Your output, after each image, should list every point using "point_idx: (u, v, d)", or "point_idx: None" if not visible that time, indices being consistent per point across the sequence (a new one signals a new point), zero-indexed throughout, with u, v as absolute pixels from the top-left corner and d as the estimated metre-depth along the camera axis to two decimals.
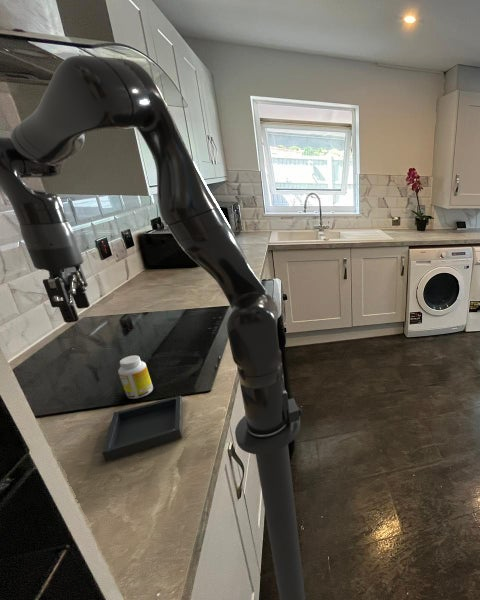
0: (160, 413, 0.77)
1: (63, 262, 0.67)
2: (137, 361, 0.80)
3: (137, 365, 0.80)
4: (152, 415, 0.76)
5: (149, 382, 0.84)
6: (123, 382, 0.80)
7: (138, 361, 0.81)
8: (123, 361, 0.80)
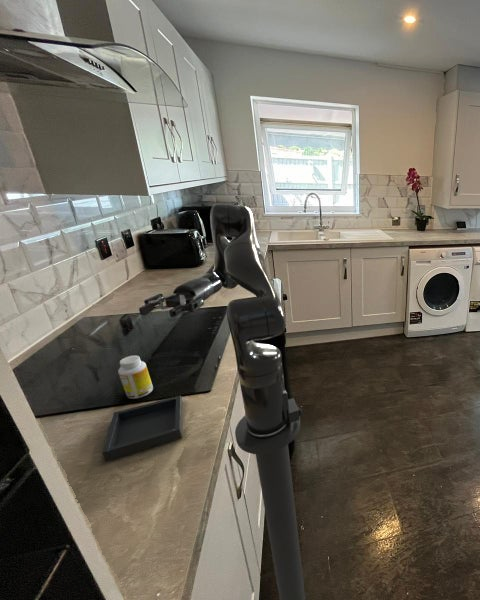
0: (160, 413, 0.77)
1: None
2: (137, 361, 0.80)
3: (137, 365, 0.80)
4: (152, 415, 0.76)
5: (149, 382, 0.84)
6: (123, 382, 0.80)
7: (138, 361, 0.81)
8: (123, 361, 0.80)
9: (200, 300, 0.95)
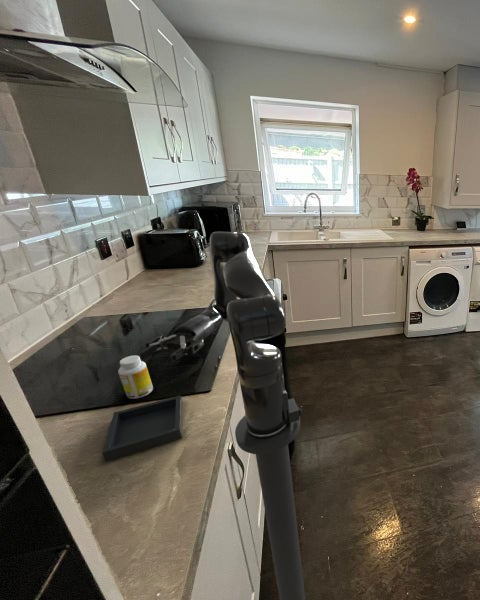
0: (160, 413, 0.77)
1: None
2: (137, 361, 0.80)
3: (137, 365, 0.80)
4: (152, 415, 0.76)
5: (149, 382, 0.84)
6: (123, 382, 0.80)
7: (138, 361, 0.81)
8: (123, 361, 0.80)
9: (200, 341, 0.96)
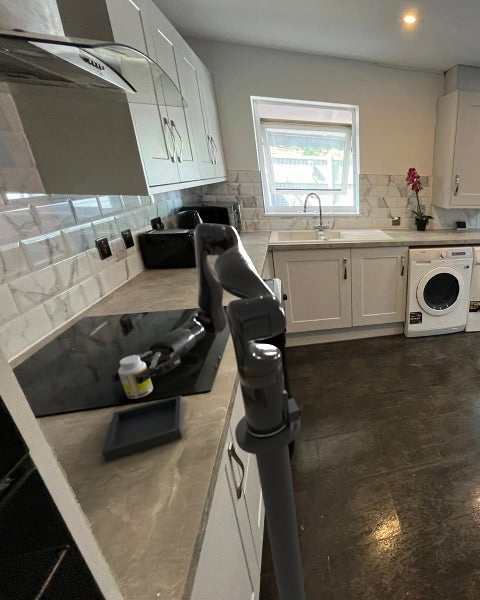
0: (160, 413, 0.77)
1: None
2: (137, 361, 0.80)
3: (137, 365, 0.80)
4: (152, 415, 0.76)
5: (149, 382, 0.84)
6: (123, 382, 0.80)
7: (138, 361, 0.81)
8: (123, 361, 0.80)
9: (175, 360, 0.87)
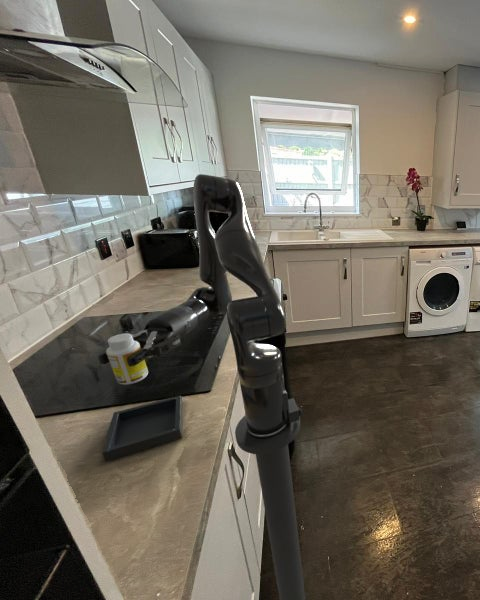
0: (160, 413, 0.77)
1: None
2: (129, 340, 0.68)
3: (129, 344, 0.68)
4: (152, 415, 0.76)
5: (143, 365, 0.71)
6: (112, 364, 0.67)
7: (130, 340, 0.68)
8: (112, 339, 0.67)
9: (174, 340, 0.74)
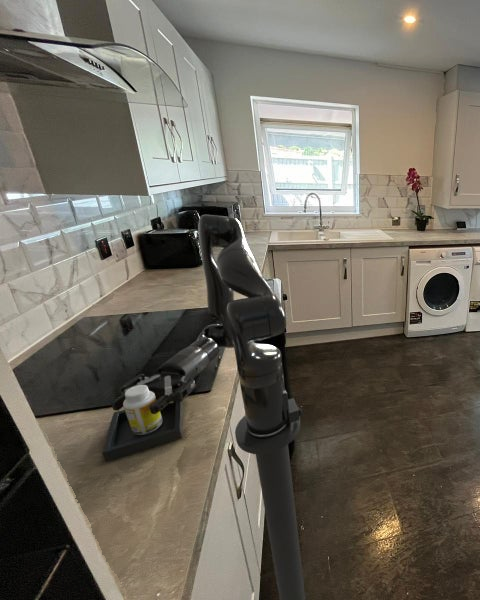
0: None
1: None
2: (145, 392, 0.69)
3: (145, 397, 0.69)
4: None
5: (158, 415, 0.73)
6: (129, 417, 0.69)
7: (146, 392, 0.70)
8: (129, 392, 0.68)
9: (190, 384, 0.76)
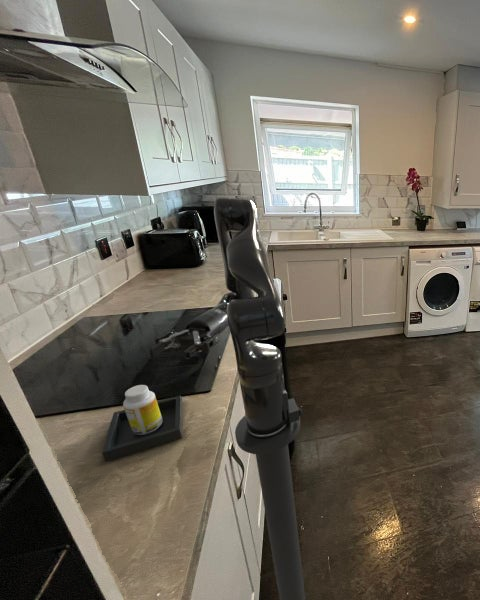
0: None
1: None
2: (145, 392, 0.69)
3: (145, 397, 0.69)
4: None
5: (158, 415, 0.73)
6: (129, 417, 0.69)
7: (146, 392, 0.70)
8: (129, 392, 0.68)
9: (215, 337, 0.87)
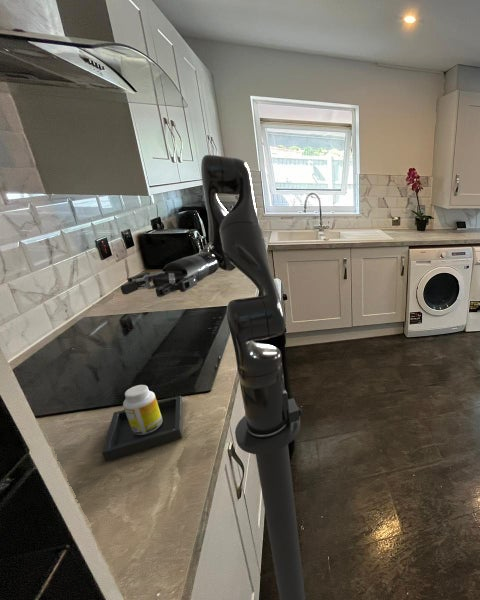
0: None
1: None
2: (145, 392, 0.69)
3: (145, 397, 0.69)
4: None
5: (158, 415, 0.73)
6: (129, 417, 0.69)
7: (146, 392, 0.70)
8: (129, 392, 0.68)
9: (192, 279, 0.83)
